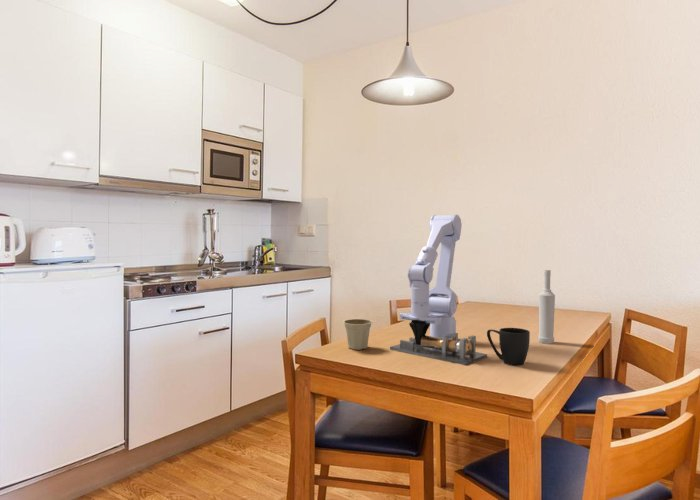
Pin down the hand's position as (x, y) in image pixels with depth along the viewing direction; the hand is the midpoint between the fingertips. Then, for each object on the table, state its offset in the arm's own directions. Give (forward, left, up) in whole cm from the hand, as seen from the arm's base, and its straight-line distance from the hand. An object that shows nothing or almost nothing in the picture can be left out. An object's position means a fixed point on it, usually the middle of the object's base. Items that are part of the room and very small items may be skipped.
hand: (419, 344), depth 150 cm
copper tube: (0, +10, -1) cm, 10 cm away
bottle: (-39, +26, -2) cm, 47 cm away
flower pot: (+12, -16, -2) cm, 20 cm away
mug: (-5, +27, -2) cm, 28 cm away
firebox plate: (0, +7, -2) cm, 7 cm away
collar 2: (0, +17, -2) cm, 17 cm away
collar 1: (0, +11, -2) cm, 11 cm away
